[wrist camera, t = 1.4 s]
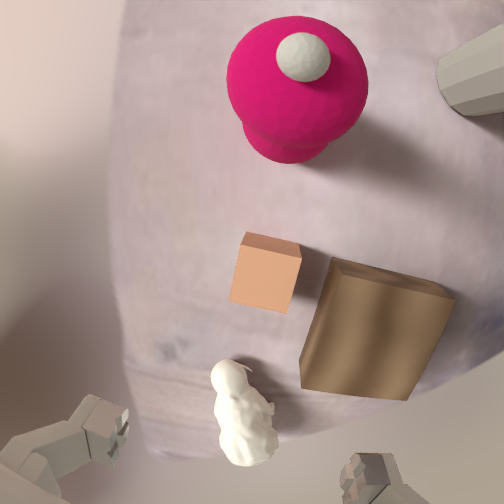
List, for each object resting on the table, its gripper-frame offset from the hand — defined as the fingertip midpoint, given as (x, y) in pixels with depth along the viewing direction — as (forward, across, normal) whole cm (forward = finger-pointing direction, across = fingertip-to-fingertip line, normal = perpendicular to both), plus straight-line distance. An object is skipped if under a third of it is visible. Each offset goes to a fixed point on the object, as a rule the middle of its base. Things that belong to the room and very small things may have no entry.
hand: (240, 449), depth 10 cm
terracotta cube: (+22, 0, 0) cm, 22 cm away
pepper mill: (+22, +1, -13) cm, 26 cm away
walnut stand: (+22, -12, +4) cm, 26 cm away
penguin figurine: (+23, -2, +16) cm, 28 cm away
